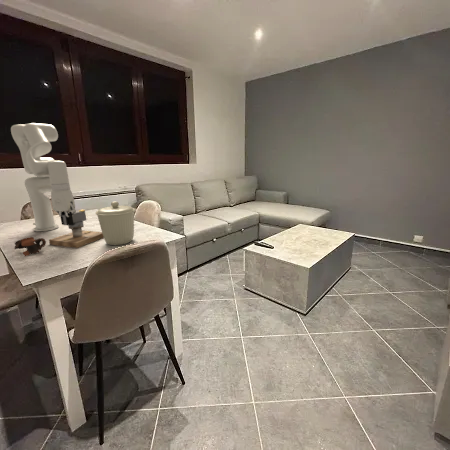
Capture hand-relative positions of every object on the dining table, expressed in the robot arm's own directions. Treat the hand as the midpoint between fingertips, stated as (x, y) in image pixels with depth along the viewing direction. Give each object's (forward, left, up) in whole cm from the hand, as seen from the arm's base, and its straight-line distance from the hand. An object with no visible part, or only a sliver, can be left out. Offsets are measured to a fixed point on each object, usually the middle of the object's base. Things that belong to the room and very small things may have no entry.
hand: (67, 223), depth 124 cm
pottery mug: (-7, -15, -10) cm, 19 cm away
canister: (+23, +8, -10) cm, 27 cm away
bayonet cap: (0, +4, -3) cm, 5 cm away
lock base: (0, +4, -10) cm, 11 cm away
